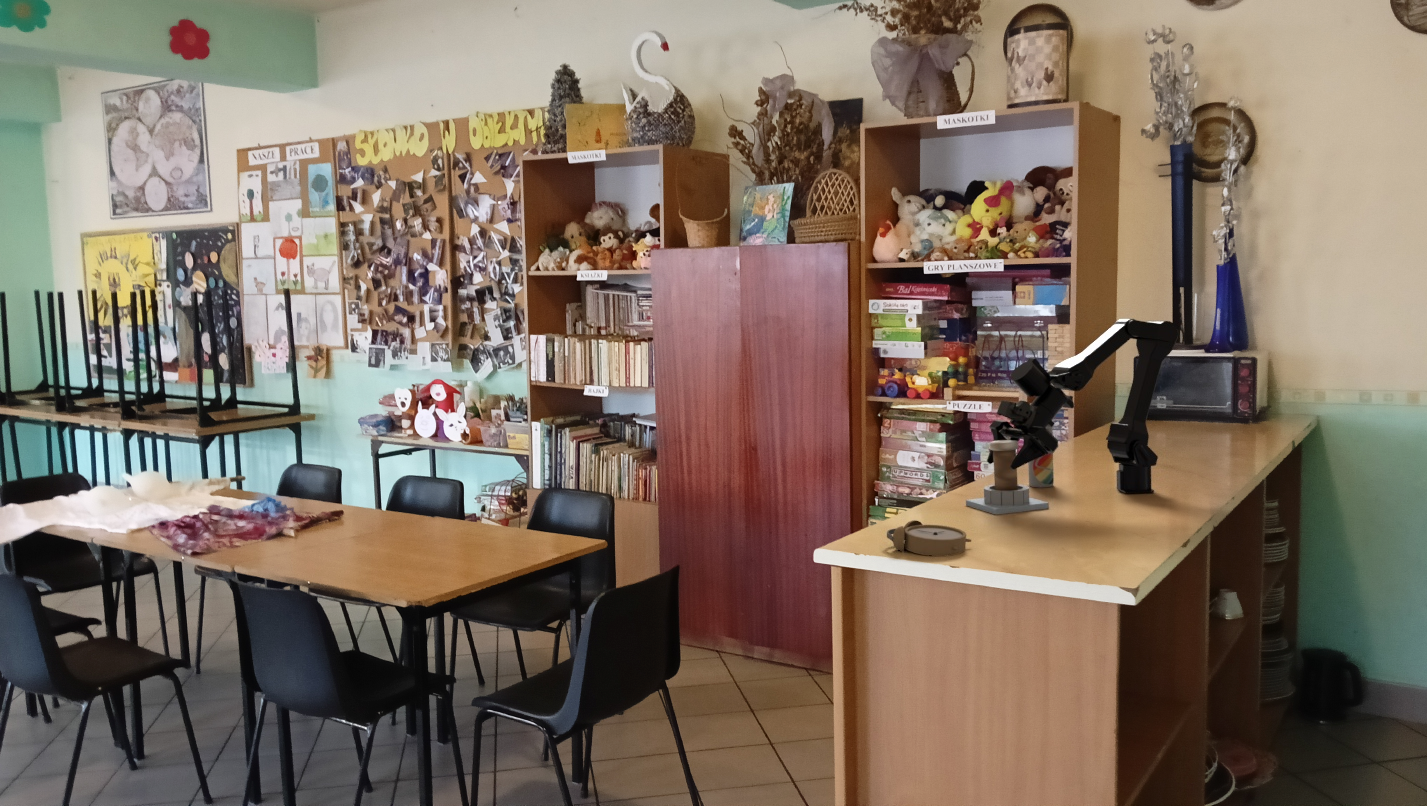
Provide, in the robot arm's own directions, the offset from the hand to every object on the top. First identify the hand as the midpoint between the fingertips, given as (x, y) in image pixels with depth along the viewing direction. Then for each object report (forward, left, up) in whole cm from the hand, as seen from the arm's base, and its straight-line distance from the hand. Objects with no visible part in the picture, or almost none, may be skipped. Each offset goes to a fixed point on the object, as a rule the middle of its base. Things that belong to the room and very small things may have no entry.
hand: (1000, 465), depth 232 cm
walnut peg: (-1, 0, -8) cm, 8 cm away
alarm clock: (+21, +35, -10) cm, 42 cm away
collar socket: (-1, 0, -9) cm, 9 cm away
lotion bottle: (-15, -24, -9) cm, 30 cm away
